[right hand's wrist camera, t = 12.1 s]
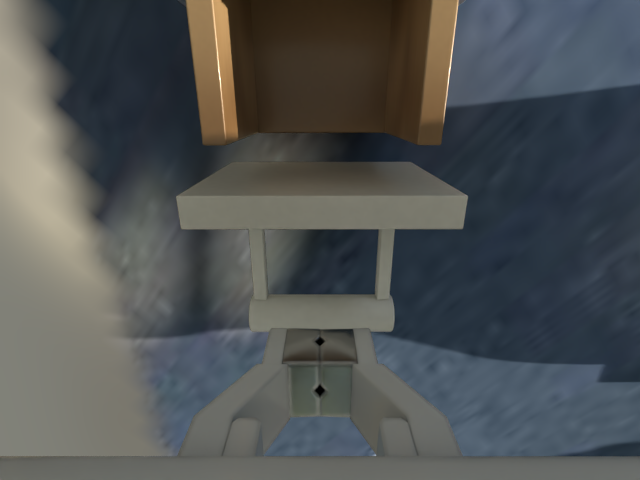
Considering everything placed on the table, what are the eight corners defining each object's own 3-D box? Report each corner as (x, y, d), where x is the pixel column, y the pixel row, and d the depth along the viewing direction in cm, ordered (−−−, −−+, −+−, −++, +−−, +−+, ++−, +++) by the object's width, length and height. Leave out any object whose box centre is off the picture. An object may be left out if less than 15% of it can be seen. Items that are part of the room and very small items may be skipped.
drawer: (399, 282, 21) (441, 371, 14) (242, 282, 21) (202, 372, 14) (462, -396, 12) (687, -1192, 5) (180, -395, 12) (-41, -1188, 5)
